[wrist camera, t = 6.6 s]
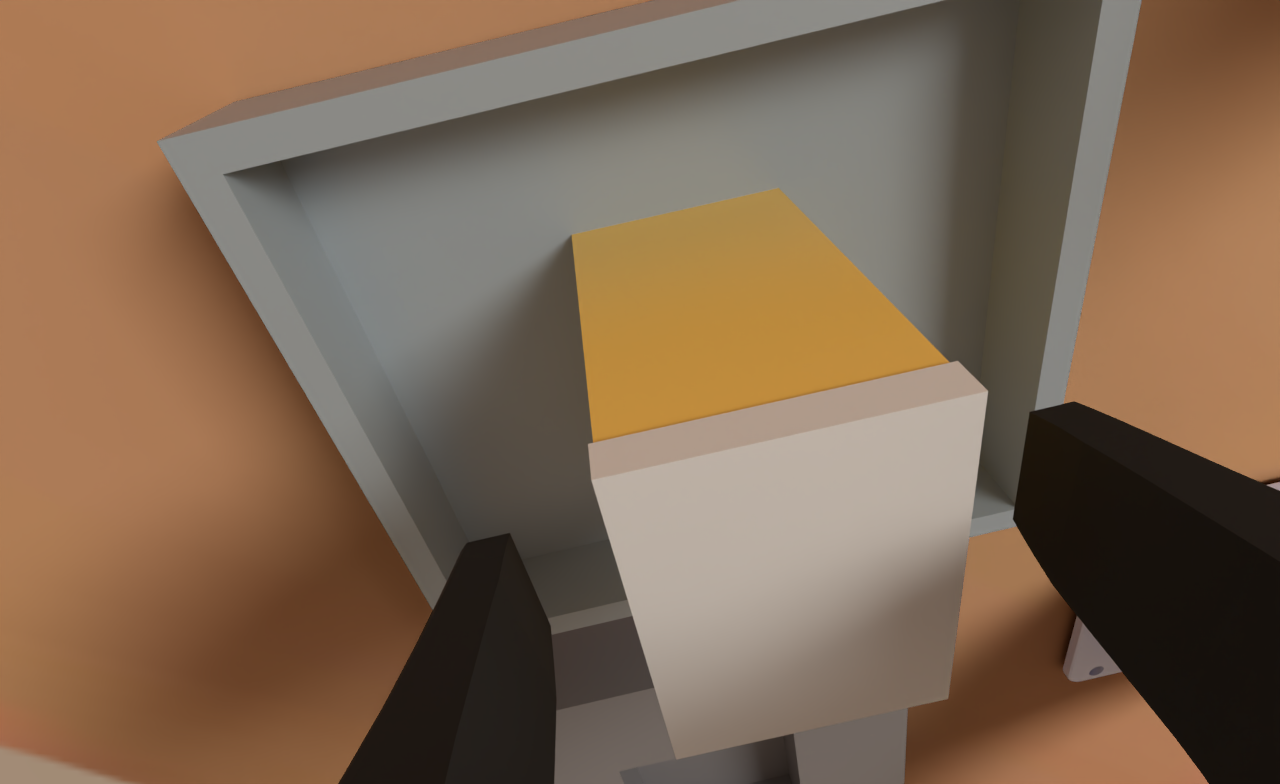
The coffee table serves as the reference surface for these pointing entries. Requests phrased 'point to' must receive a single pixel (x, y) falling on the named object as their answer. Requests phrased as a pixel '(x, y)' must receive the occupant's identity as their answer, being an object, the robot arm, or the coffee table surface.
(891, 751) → the block
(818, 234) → the block
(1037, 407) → the parts tray
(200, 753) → the coffee table surface
